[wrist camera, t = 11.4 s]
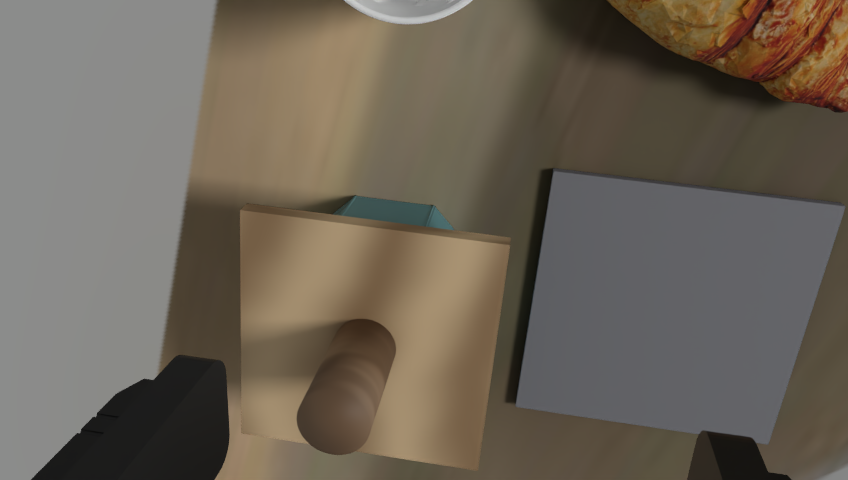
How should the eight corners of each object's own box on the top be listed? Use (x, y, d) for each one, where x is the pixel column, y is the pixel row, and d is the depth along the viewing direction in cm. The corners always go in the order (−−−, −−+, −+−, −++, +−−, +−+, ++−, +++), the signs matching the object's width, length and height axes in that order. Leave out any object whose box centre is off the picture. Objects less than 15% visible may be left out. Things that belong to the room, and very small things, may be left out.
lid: (510, 237, 34) (507, 307, 27) (478, 458, 39) (469, 565, 32) (247, 203, 36) (180, 262, 29) (247, 422, 40) (190, 518, 33)
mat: (840, 202, 38) (845, 206, 37) (765, 438, 43) (768, 444, 43) (553, 168, 39) (553, 171, 38) (515, 401, 45) (515, 406, 44)
